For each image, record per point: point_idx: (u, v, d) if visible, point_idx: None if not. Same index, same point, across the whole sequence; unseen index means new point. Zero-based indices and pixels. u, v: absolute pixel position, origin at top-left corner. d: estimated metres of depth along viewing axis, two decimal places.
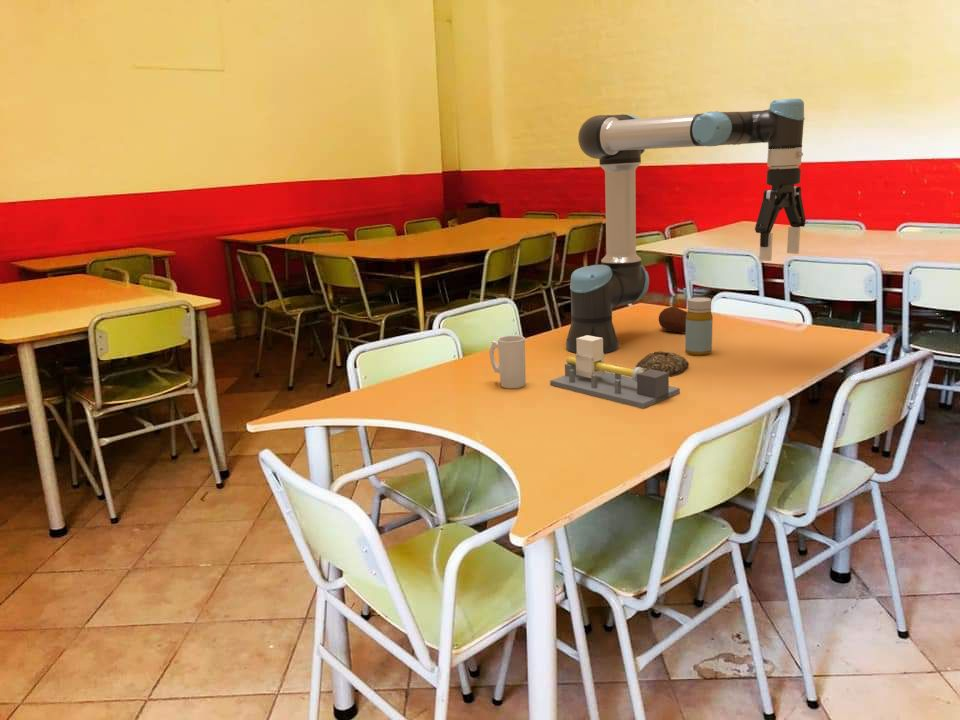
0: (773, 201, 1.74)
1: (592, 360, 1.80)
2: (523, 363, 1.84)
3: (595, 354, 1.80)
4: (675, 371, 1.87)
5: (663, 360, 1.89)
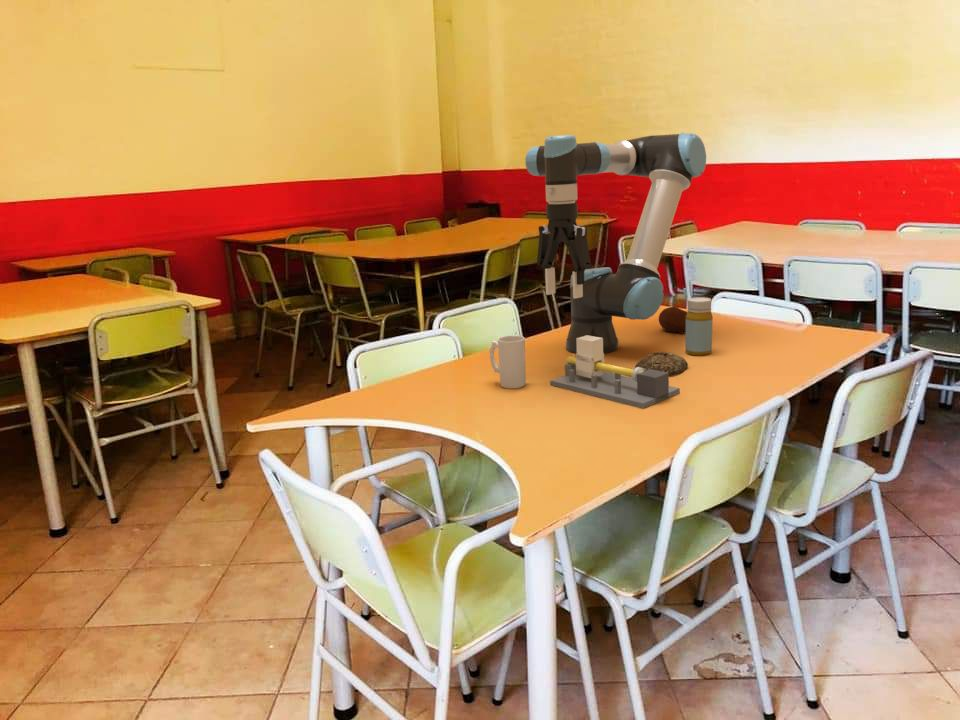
0: (541, 236, 1.85)
1: (592, 360, 1.80)
2: (523, 363, 1.84)
3: (595, 354, 1.80)
4: (674, 371, 1.87)
5: (662, 360, 1.89)
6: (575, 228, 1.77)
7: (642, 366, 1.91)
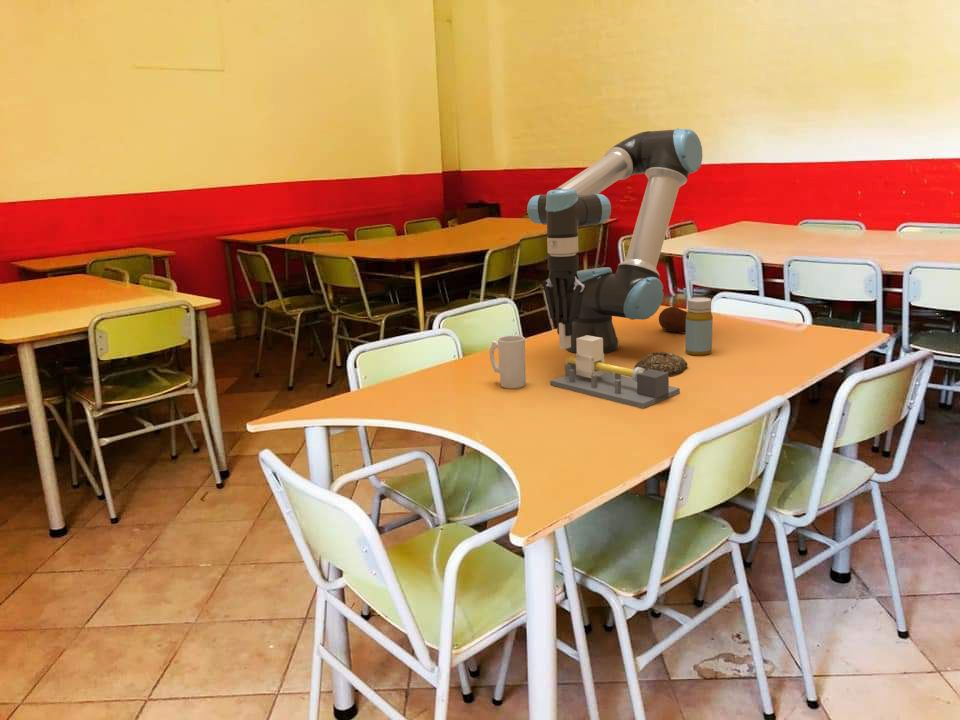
0: (546, 290, 1.87)
1: (592, 360, 1.80)
2: (523, 363, 1.84)
3: (595, 354, 1.80)
4: (674, 371, 1.87)
5: (661, 360, 1.89)
6: (575, 282, 1.80)
7: (642, 366, 1.91)
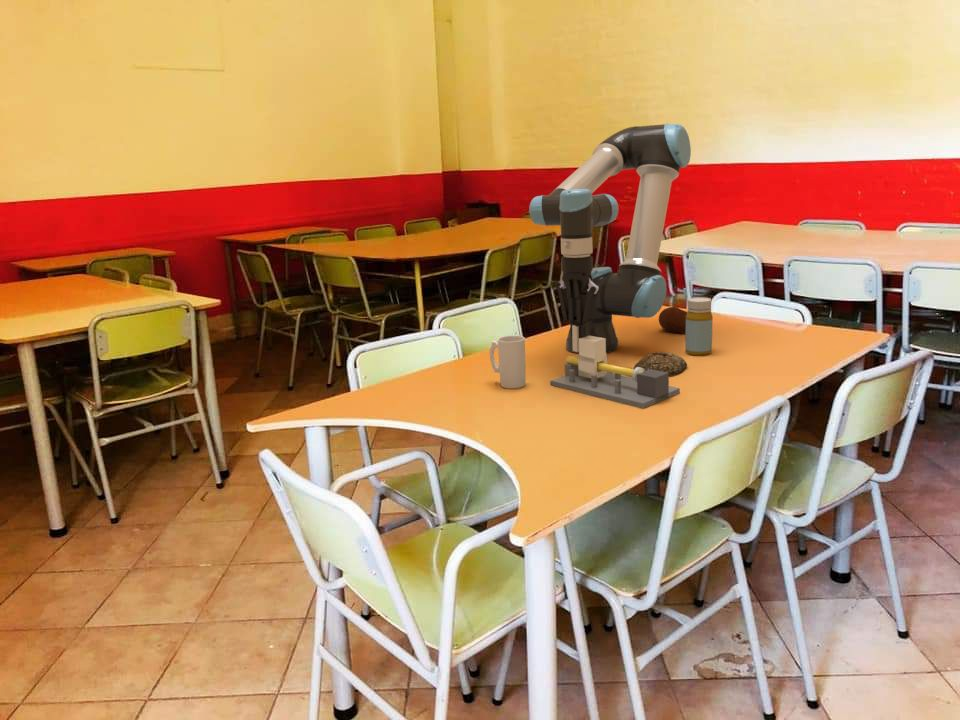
0: (559, 292, 1.84)
1: (594, 361, 1.79)
2: (523, 363, 1.84)
3: (598, 355, 1.80)
4: (673, 371, 1.87)
5: (661, 360, 1.89)
6: (589, 284, 1.77)
7: (641, 366, 1.91)
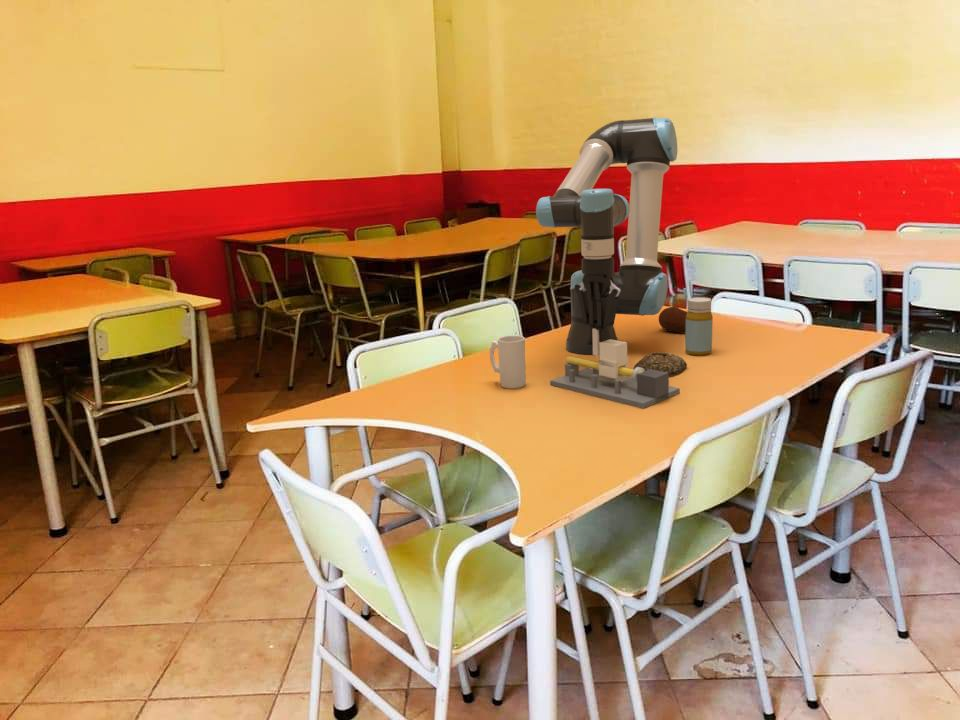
0: (579, 294, 1.79)
1: (616, 365, 1.74)
2: (523, 363, 1.84)
3: (619, 359, 1.75)
4: (673, 371, 1.86)
5: (661, 361, 1.89)
6: (611, 286, 1.72)
7: (641, 366, 1.91)
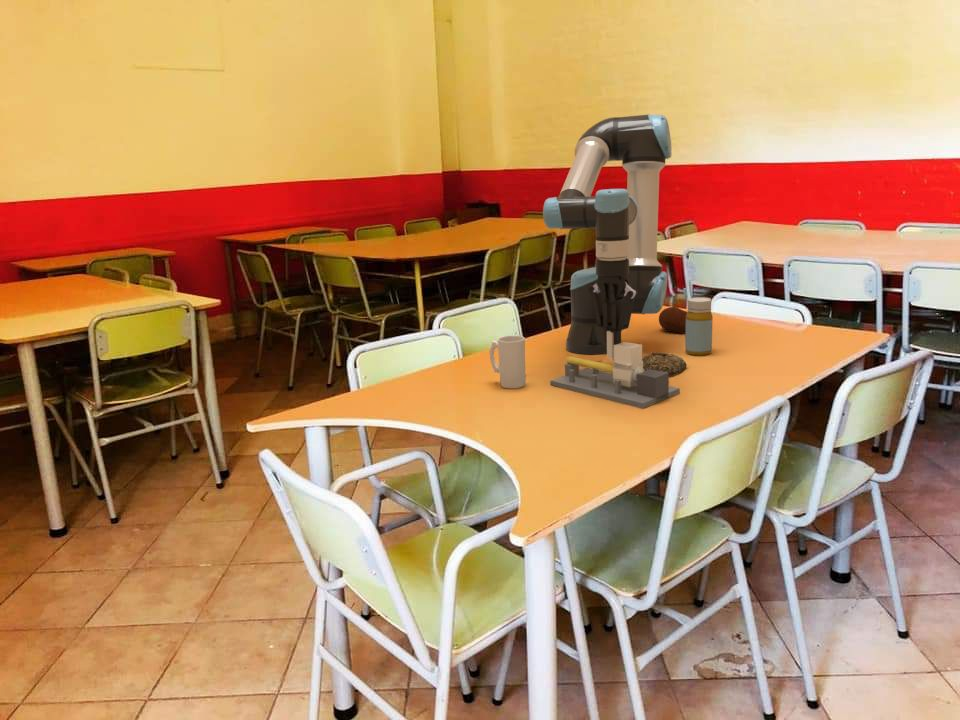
0: (593, 296, 1.76)
1: (630, 368, 1.71)
2: (523, 363, 1.84)
3: (634, 362, 1.72)
4: (673, 371, 1.86)
5: (660, 361, 1.89)
6: (626, 288, 1.69)
7: None
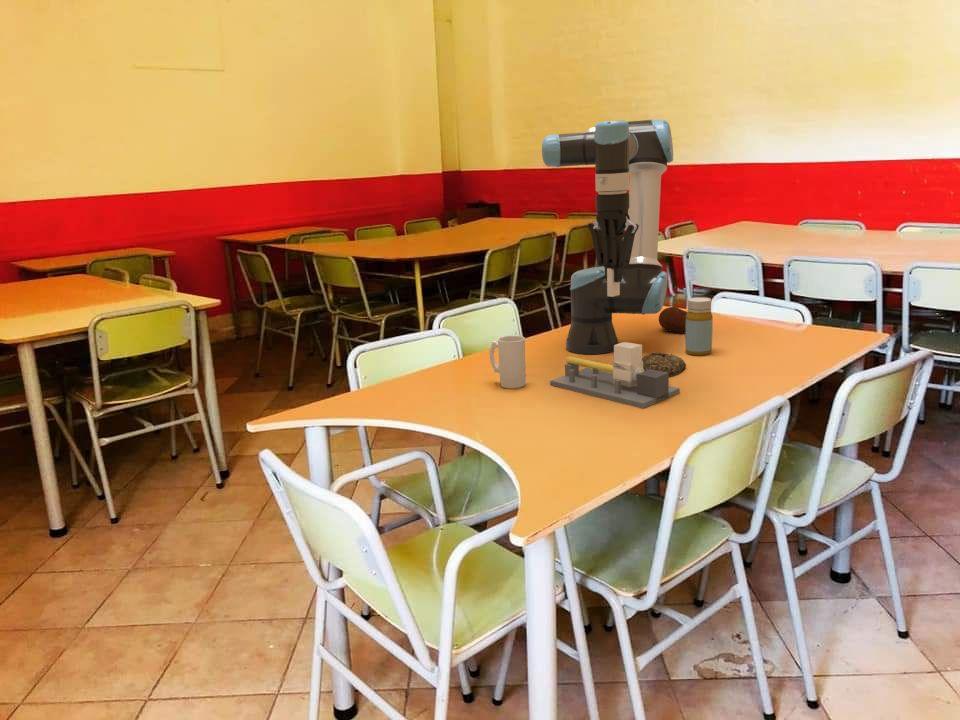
0: (593, 233, 1.73)
1: (630, 368, 1.71)
2: (523, 363, 1.84)
3: (634, 362, 1.72)
4: (672, 371, 1.86)
5: (660, 361, 1.89)
6: (627, 222, 1.66)
7: None
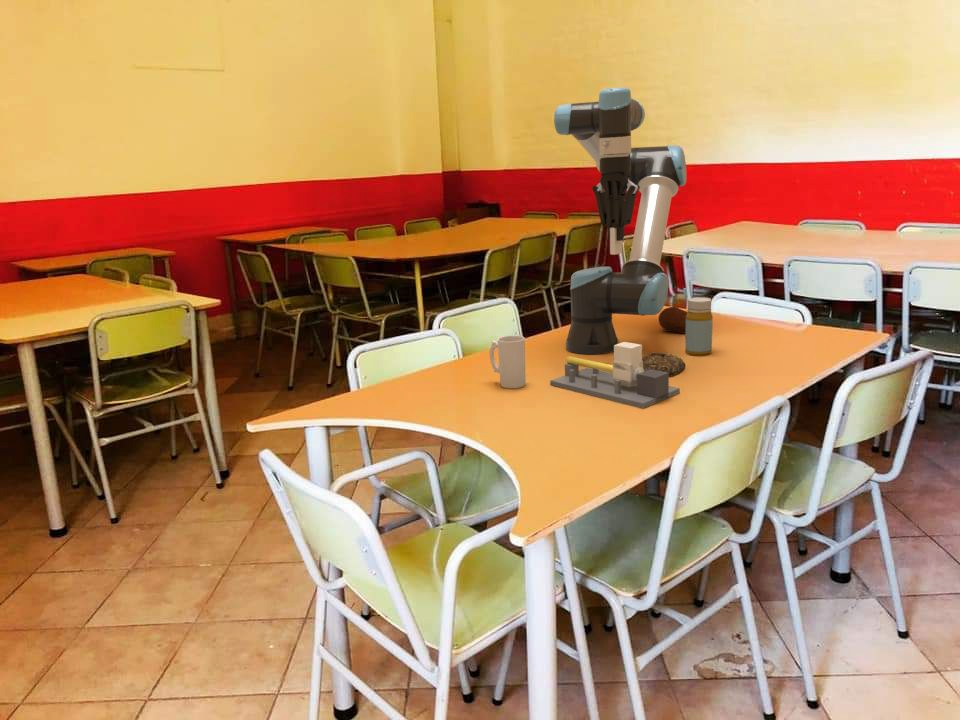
0: (597, 195, 1.85)
1: (630, 368, 1.71)
2: (523, 363, 1.84)
3: (634, 362, 1.72)
4: (672, 371, 1.86)
5: (659, 361, 1.89)
6: (628, 183, 1.78)
7: None
